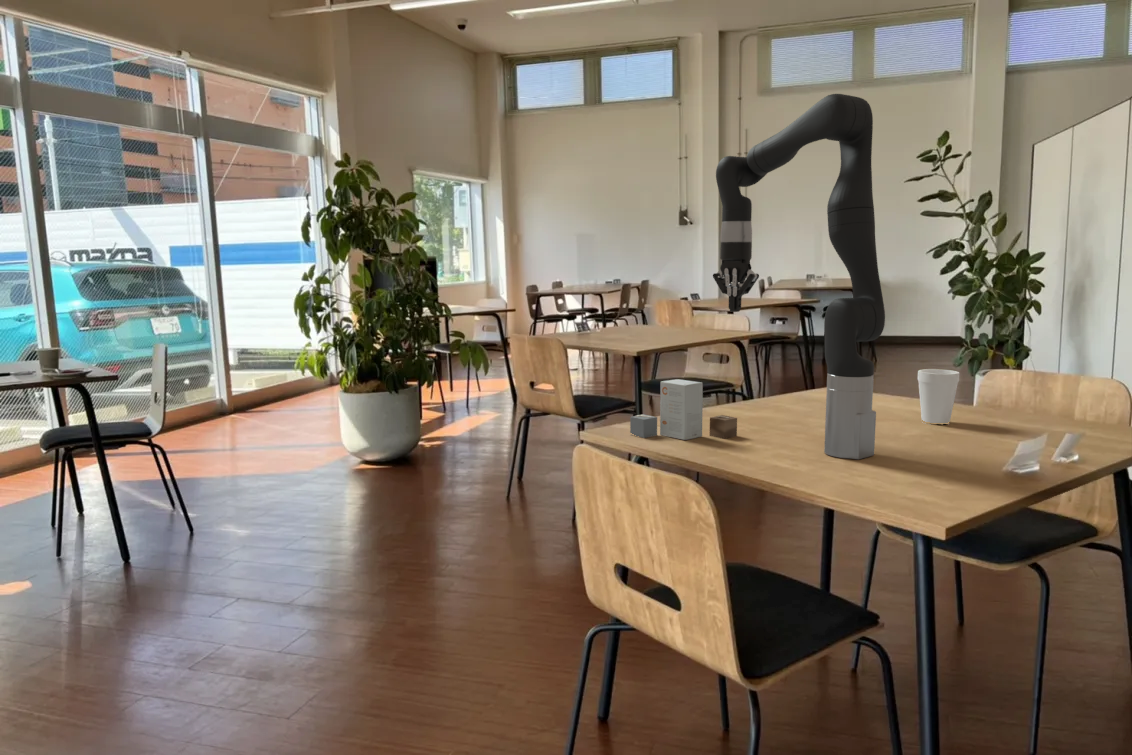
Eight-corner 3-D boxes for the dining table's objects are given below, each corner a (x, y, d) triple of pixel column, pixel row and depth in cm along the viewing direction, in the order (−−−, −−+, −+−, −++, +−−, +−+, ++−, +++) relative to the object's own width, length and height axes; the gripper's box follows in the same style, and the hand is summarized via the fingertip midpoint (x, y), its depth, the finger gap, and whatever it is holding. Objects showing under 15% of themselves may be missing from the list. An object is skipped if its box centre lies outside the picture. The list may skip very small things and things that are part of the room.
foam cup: (961, 426, 198) (964, 374, 196) (921, 426, 200) (924, 374, 198) (949, 419, 208) (952, 369, 206) (911, 418, 209) (914, 368, 207)
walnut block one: (736, 436, 191) (737, 416, 190) (724, 439, 188) (724, 419, 187) (721, 433, 194) (722, 414, 193) (709, 436, 191) (709, 416, 191)
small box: (702, 436, 190) (703, 382, 188) (684, 440, 186) (685, 385, 184) (677, 431, 196) (677, 378, 194) (659, 435, 192) (659, 381, 190)
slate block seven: (657, 435, 192) (657, 416, 192) (643, 438, 189) (643, 418, 189) (643, 432, 196) (643, 413, 195) (630, 435, 193) (630, 415, 192)
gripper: (768, 240, 194) (766, 312, 197) (724, 241, 204) (723, 309, 207) (748, 240, 190) (746, 313, 192) (705, 241, 200) (704, 311, 202)
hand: (734, 311), depth 200 cm, fingers closed
